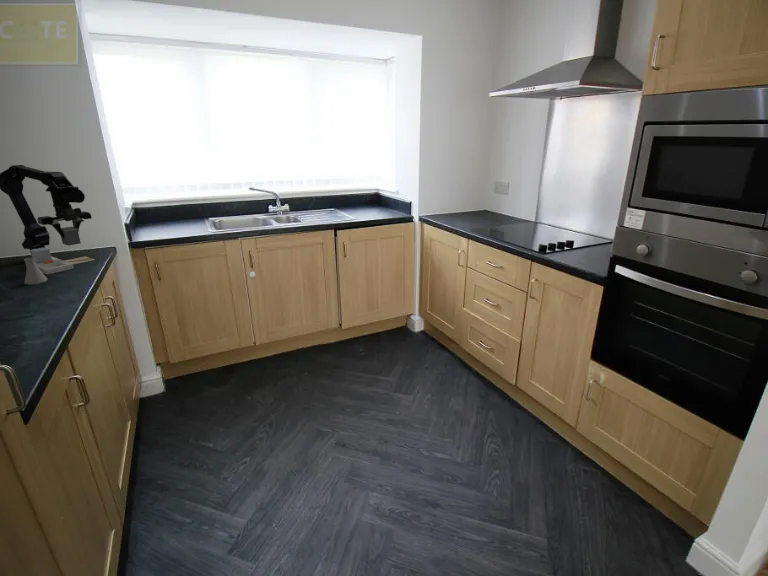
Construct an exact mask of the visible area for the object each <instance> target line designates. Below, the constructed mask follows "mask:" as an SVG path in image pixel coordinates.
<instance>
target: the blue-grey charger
mask: <svg viewBox="0 0 768 576" xmlns="http://www.w3.org/2000/svg"><path fill="white" fill-rule="evenodd" d="M30 251H31V252H30ZM29 252H30V255H31V254H32V256H31V258H32V257H33V258H35V262H36V263H43V261H47V260H52V257H53V256H52V253H51V251H50V248H47V247H45V248H38V249H33V250H30V249H29ZM51 256H52V257H51Z"/></svg>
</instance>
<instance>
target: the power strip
mask: <svg viewBox="0 0 768 576" xmlns="http://www.w3.org/2000/svg"><path fill="white" fill-rule="evenodd" d="M51 257H52V260H47V261H43V263H36V262H35V263H36V265H37V267H38V268H39V269H40V271H41V272H42V273H43V274H44V275H51V274H55V273H60V272H65V271H69V270H73V269H74V268H75V267H74V264H71V263H69V262H66V261H65V260H63V259H60V258H57V257H55V256H52V255H51ZM24 262H25V261H24ZM25 264H26V262H25Z"/></svg>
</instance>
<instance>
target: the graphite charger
mask: <svg viewBox="0 0 768 576" xmlns="http://www.w3.org/2000/svg"><path fill="white" fill-rule="evenodd" d="M61 229H62V232H63V235H64V238H62V237H61V236H60V238H61V243H62V245H65V246H75V245H79V244H82V242H81V238H80V234H79V232H78V229H77V228H75V227H73V226H66V227H61Z"/></svg>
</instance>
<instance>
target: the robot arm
mask: <svg viewBox="0 0 768 576" xmlns="http://www.w3.org/2000/svg"><path fill="white" fill-rule="evenodd" d="M27 178H28V179H31V180H36V181H38V182H41V184H42V185H45V186H47V187H46V189H45V192H49V193H50V197H51V201H52V207H53V208H54V212H55V214H54V215H55V217H54V216H49V215H45V216H44V215H43V216H39V217H37V219H36V217H35V215H34V213H33V211H32V209H31V207H30V204H29V203H28V202H27V200H26V197H25V195H24V193H23V191H24V184H23V181H24V180H26V179H27ZM0 190H1V191H2V192H3V193H4V194H6V195H7V196H8V198H9V199H10V201H11V203H12V205H13V207H14V209H15V210H16V213H17V214H18V216H19V218H20V220H21V223H22V225H23V226H24V230H23V237H24V239H23V241H22V243H21V246H22V248H23V249H24V250H29V252H30V255H31V258H33V257H32V254H31V251H30V250H33V249H38V248H46V246H50V238H51V237H50V232H49V231H48V230H47V227H46V226H47V225H48V226H51V227H53V228H54V229H55V231H56V232H57V233H58V234H59V235H60V238H61V237H62V238H64V235H63V232H62V229H61V228H62V227H61V226H62V223H59V222H61V221H65V222H70V221H71V223H72V227H75V228H77V229H78V233H79V231H80V227H81V224H82V223H83V222H85V220H91V219H93V218H92V214H91V213H90V212H89V211H86V210H84V211H82V209H81V208H80V207H77V208H76V207H75V208H73V207H72V205H71V203H73V204H75V203H76V204H81V203H83V202H85V198H86V195H85V193H84V192H83V190H81V189H79V186H75V185H73V183H72V182H71V181H70V179H68V178H67V176H66V175H65V173H63V172H61V171H45V170H42V169H37V168H32V167H29V166H25V165H23V164H15V165H14V164H13V165H11V166H9V167H8V168H7V169H6V170H3V171H2V172H0Z"/></svg>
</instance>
